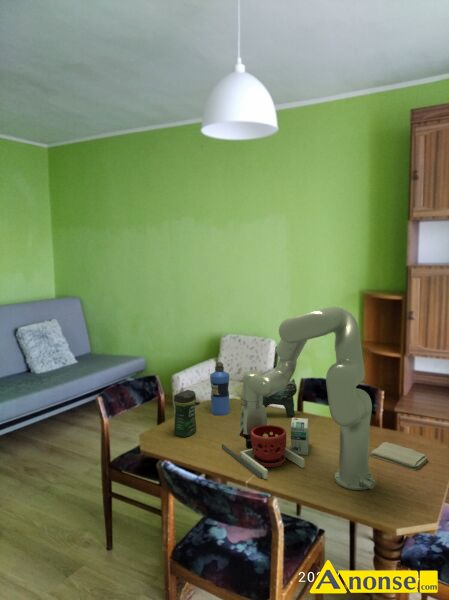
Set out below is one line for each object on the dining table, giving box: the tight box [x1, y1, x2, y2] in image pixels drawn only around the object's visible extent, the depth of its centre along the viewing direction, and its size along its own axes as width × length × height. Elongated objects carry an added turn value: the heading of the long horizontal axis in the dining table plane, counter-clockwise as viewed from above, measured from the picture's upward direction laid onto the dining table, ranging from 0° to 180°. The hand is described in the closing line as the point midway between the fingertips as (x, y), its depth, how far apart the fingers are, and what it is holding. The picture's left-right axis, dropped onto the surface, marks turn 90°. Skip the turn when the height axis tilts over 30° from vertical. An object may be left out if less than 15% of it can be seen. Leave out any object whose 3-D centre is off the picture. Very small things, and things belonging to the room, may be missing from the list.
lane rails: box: [221, 435, 265, 480], centre depth 168 cm, size 28×19×2 cm
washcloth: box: [369, 441, 429, 471], centre depth 165 cm, size 12×18×3 cm, turn 46°
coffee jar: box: [173, 389, 197, 438], centre depth 190 cm, size 10×8×19 cm
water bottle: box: [209, 361, 230, 417], centre depth 214 cm, size 9×9×25 cm
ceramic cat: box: [263, 378, 298, 419], centre depth 208 cm, size 20×6×20 cm, turn 89°
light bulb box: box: [290, 417, 309, 456], centre depth 174 cm, size 11×7×11 cm, turn 168°
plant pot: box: [251, 424, 287, 468], centre depth 163 cm, size 13×13×12 cm
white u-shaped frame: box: [239, 435, 305, 480], centre depth 164 cm, size 22×17×6 cm
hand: (253, 448), depth 172 cm, fingers closed on white u-shaped frame, 3 cm apart
